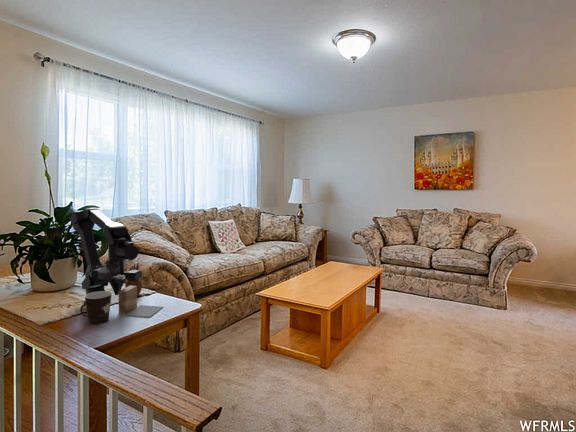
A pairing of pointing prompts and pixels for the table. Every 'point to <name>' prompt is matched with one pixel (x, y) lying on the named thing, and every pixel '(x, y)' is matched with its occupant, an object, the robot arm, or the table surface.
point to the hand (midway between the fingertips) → (117, 294)
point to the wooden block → (127, 299)
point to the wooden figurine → (134, 281)
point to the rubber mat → (144, 311)
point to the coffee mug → (97, 307)
